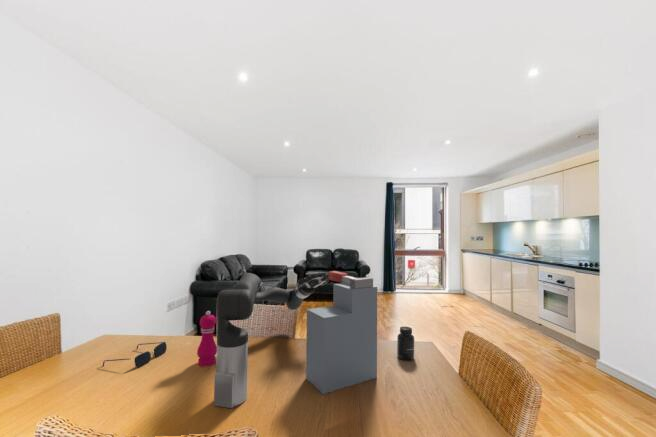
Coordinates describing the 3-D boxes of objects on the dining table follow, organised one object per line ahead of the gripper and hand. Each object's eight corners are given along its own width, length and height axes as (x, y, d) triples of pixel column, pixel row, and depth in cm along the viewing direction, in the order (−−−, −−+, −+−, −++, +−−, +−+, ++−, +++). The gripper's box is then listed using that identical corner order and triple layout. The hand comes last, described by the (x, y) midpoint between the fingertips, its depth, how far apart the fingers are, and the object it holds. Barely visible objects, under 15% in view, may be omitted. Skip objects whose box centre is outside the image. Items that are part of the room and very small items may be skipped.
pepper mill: (220, 359, 122) (221, 308, 123) (211, 367, 115) (212, 313, 115) (202, 358, 123) (204, 308, 123) (193, 366, 115) (194, 313, 116)
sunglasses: (136, 371, 112) (135, 357, 113) (101, 373, 114) (100, 359, 115) (168, 352, 129) (166, 340, 130) (137, 354, 131) (136, 342, 132)
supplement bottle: (410, 362, 121) (410, 332, 121) (394, 358, 125) (394, 328, 125) (416, 357, 126) (416, 327, 127) (401, 352, 130) (401, 324, 131)
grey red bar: (323, 279, 123) (323, 271, 123) (340, 278, 127) (340, 270, 128) (354, 288, 105) (355, 279, 105) (373, 286, 109) (373, 277, 109)
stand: (306, 378, 107) (307, 286, 108) (356, 364, 119) (357, 281, 120) (323, 394, 97) (324, 292, 98) (376, 377, 108) (377, 286, 109)
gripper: (290, 282, 146) (303, 269, 134) (316, 280, 153) (331, 267, 141) (292, 297, 142) (306, 285, 130) (319, 294, 149) (335, 283, 137)
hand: (319, 276), depth 136 cm, fingers open, 8 cm apart
